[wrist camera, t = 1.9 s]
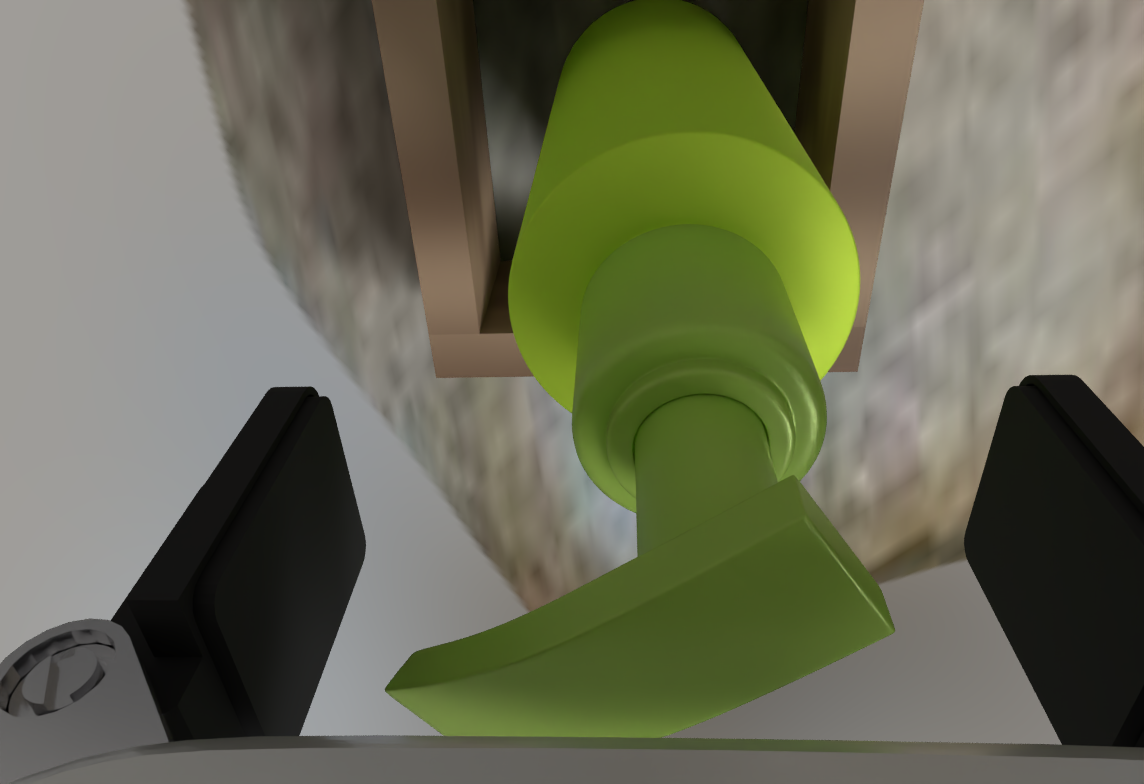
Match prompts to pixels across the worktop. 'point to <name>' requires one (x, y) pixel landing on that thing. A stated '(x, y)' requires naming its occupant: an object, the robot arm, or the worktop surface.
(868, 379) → the worktop surface
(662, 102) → the soap dispenser
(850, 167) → the walnut stand
